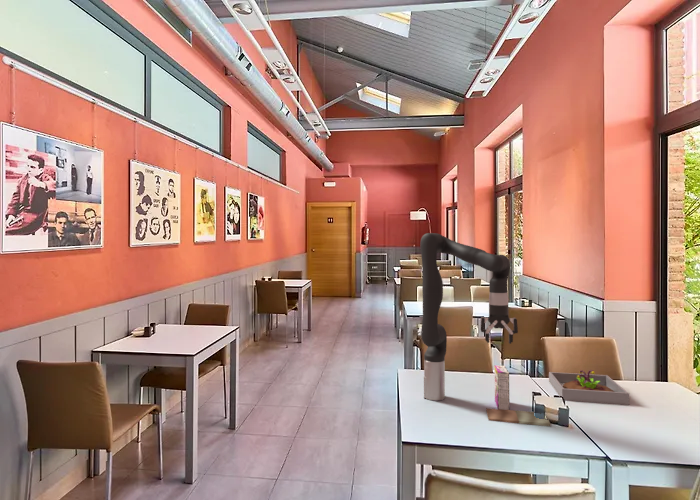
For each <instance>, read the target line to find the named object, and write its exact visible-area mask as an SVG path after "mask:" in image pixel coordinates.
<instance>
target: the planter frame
mask: <svg viewBox="0 0 700 500" xmlns="http://www.w3.org/2000/svg"><path fill="white" fill-rule="evenodd" d="M587 374H588V373H586V375H587ZM578 375H581V374H580V373H576V372H575V373H574V372H573V373H572V372H571V373H570V372H557V371H556V372H555V371H549V372H548V382H549V384H550V385H551V387H552V388H553V389H554V391H555V392H556V394H557V395H558V396H559V397H560V396H562V397H564V399H565V400H564V401H571V402H584V403H585V402H586V403H596V404H597V403H598V404H601V403H602V404H610V405H611V404H613V405H624V406H626V405H627V406H629V405H630V393H629V392H628V391H627V390H625V388H624V387H623V386H621V385H620V384H618V383H617V382H616V381H615V380H614V379H612V378H611V377H610V376H609V375H608V374H592V373H590V374H589V375H590V378H591V379H592V378H593V382H595V381H600V382H598V383H597V384H600V385H602V386H607V387H608V388H610V389H612V390H613V391H615V392H609V391H594V390H579V389H564V388H563V384H565V383H568V382H571V381H579V380H578V379H577V378H578V377H577V376H578ZM582 375H584V373H582ZM584 376H585V375H584ZM582 377H583V376H581V377H580V379H581V380H582ZM583 378H584V377H583Z"/></svg>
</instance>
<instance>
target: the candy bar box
mask: <svg viewBox="0 0 700 500" xmlns="http://www.w3.org/2000/svg"><path fill="white" fill-rule="evenodd" d="M493 367H494V369H493V370H494V371H493V372H494V375H493V376H494V402H495V405H496V407H497V408H496V409H502V410H511V408H510V372H509V370H508V368H507V367H506V365H502V364H501V365H499V364H496V365H494V366H493Z"/></svg>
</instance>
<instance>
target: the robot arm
mask: <svg viewBox="0 0 700 500" xmlns="http://www.w3.org/2000/svg"><path fill="white" fill-rule="evenodd" d="M419 245H420V255H421V268H422V269H421V270H422V272H421V273H422V283H421V285H422V286H421V287H422V320H421V331H420V332H421V333H420V336H421V341H422V343H423V344H424V345H425V346H427V348H426V350H425V352H424V354H423V359H424V360H423V370H424V371H423V373H424V374H423V375H424V376H423V399H424V398H426V399H427V400H429V401H442V400H444V399H446V398H445V397H446V388H445V387H446V380H445V379H446V377H445V376H446V375H445V374H446V372H445V371H446V369H445V368H446V367H445V366H446V365H445V363H446V362H445V361H446V359H445V357H446V354H447V345H448V344H447V339H448V338H447V331H446V328H445V327H444V326H443V325H441V324H440V323H438V320H439V319H438V317H439V311H440V310H441V306H442V302H443V299H444V297H443V296H444V283H443V278H442V275H441V273H440V271H439V270H440V269H439V267H438V264H437V263H438V262H437V255H438V254H440V253H441V254H447V255H451V256H453V257H455V258H458V260H461V261H463V262H466V263H469V264H471V265H475V266H478V267H480V268H482V269H485V270H486V271H490V272H492V276H491V278H490V279H489V284H488V285H489V288H488V289H489V295H488V317H484V316H481V317H480V318H481V319H480V332H481V333H484V335H485V336H484V337H485V338H484V339H485V342H486V343H487V344H488V343H490V334H489V333H490V332H491V330H493V328H494V329H506V331H507V333H508V344H509V345H510V344H512V343H513V342H514V334H518V333H519V330H518V329H519V328H518V327H519V326H518V319H517V318H516V317H510V316H509V295H508V293H509V292H508V287H509V286H508V281H509V274H510V269H511V262H510V259H509V258H508V256H506V255H504V254H493V253H490V252H487V251H485V250H483V249H482V248H478V247H474V246H471V245H468V244H464V243H460V242H458V241H454V240H452V239H451V238H448V237H446V236H445V235H443V234H441V233H437V232H436V233H435V232H434V233H433V232H428V233H427V232H426V233H424V234H423V235H422V236H421V238H420V243H419ZM487 321H488V322H489V324H488V326H487V327H486V329H485V323H487ZM510 322H511V324H513V329H511V328H510V327H509V325H508V324H509V323H510Z"/></svg>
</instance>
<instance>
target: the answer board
mask: <svg viewBox="0 0 700 500" xmlns="http://www.w3.org/2000/svg"><path fill="white" fill-rule="evenodd" d="M485 410H486V414H487V420H488V421H491V422H500V423H501V422H502V423H512V424H519V425H520V424H521V425H532V426H542V427H543V426H544V427H551V422H550V420H549V419H548V420H545V419H539V418H536V417H535V416H534V412H535V411H527V410H526V411H525V410H513V409H510V410H502V409H498V408H486V409H485Z"/></svg>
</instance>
